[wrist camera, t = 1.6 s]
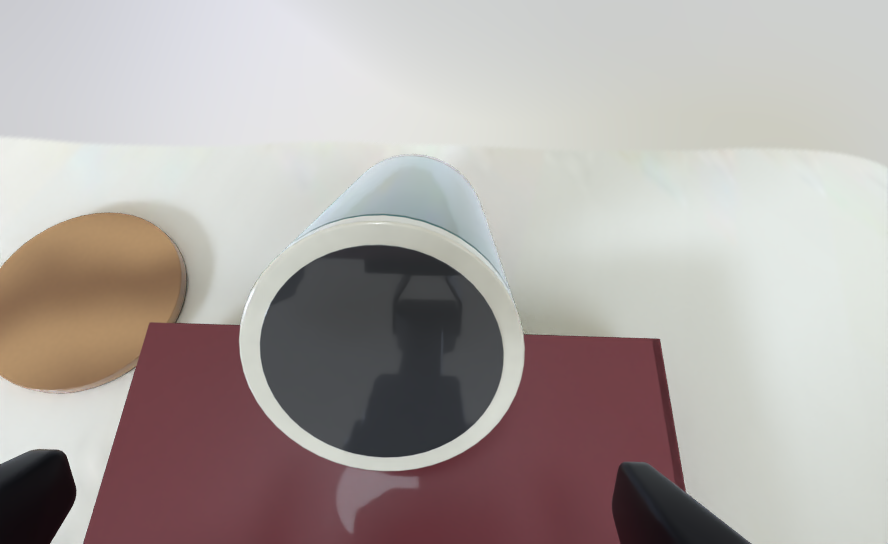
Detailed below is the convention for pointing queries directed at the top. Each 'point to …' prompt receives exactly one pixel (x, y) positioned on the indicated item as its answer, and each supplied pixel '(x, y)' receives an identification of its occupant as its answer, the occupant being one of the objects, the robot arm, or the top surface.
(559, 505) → the book
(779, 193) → the top surface
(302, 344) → the pencil cup
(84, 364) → the coaster
